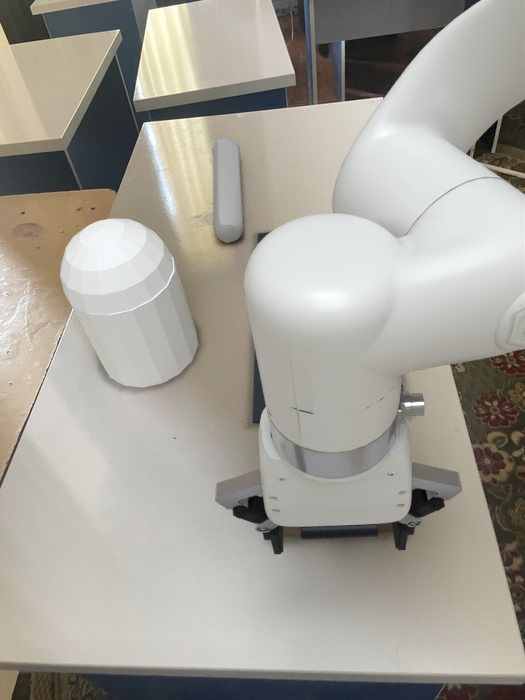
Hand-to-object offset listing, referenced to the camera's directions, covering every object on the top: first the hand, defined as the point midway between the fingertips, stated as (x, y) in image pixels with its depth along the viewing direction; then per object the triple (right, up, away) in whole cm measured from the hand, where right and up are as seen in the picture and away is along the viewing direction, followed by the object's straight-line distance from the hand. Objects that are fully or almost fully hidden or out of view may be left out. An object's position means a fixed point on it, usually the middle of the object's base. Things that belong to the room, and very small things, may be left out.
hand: (337, 534), depth 46 cm
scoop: (+1, +4, +8) cm, 9 cm away
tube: (-12, +40, +52) cm, 67 cm away
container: (-21, +15, +31) cm, 41 cm away
